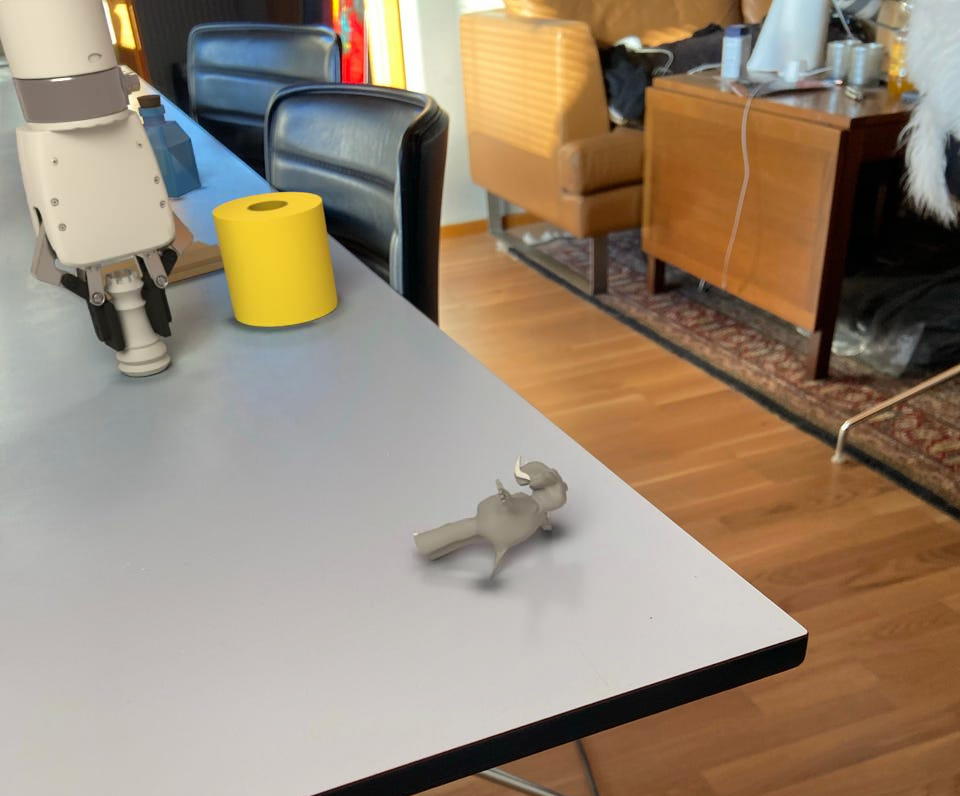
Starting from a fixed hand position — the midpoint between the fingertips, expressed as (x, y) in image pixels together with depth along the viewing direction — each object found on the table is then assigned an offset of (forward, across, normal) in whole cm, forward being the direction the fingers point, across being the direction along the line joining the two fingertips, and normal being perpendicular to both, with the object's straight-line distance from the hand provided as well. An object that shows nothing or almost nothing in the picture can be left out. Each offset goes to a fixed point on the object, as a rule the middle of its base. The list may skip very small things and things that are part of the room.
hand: (137, 338), depth 86 cm
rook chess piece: (+3, 0, 0) cm, 3 cm away
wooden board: (+3, -13, -27) cm, 30 cm away
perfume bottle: (+3, -32, -63) cm, 71 cm away
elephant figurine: (+3, -1, +46) cm, 46 cm away
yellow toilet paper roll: (+3, -16, -4) cm, 17 cm away
